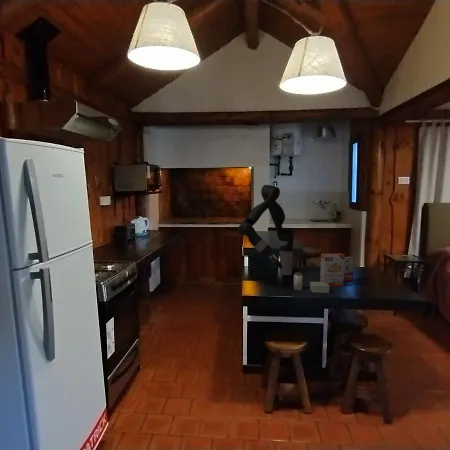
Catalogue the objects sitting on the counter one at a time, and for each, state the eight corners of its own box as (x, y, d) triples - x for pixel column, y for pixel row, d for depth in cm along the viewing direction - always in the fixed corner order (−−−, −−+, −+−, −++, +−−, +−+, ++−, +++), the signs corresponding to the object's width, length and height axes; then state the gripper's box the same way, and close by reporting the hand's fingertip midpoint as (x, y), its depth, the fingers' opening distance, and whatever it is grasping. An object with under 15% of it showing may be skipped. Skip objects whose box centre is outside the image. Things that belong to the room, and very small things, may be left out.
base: (309, 287, 244) (310, 281, 244) (325, 288, 244) (326, 282, 243) (312, 292, 235) (312, 285, 234) (329, 292, 234) (329, 286, 233)
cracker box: (323, 287, 246) (325, 255, 244) (319, 285, 252) (320, 253, 250) (343, 286, 249) (345, 254, 247) (339, 284, 255) (340, 252, 253)
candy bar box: (348, 279, 267) (349, 256, 265) (353, 281, 262) (354, 257, 261) (334, 281, 263) (335, 257, 261) (339, 282, 258) (340, 258, 257)
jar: (293, 287, 245) (293, 272, 244) (301, 287, 244) (301, 272, 243) (294, 289, 240) (294, 274, 238) (302, 290, 239) (303, 274, 238)
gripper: (267, 245, 233) (286, 264, 234) (266, 242, 247) (284, 260, 248) (258, 253, 234) (277, 272, 235) (258, 249, 248) (275, 267, 249)
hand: (280, 266), depth 241 cm, fingers open, 8 cm apart
